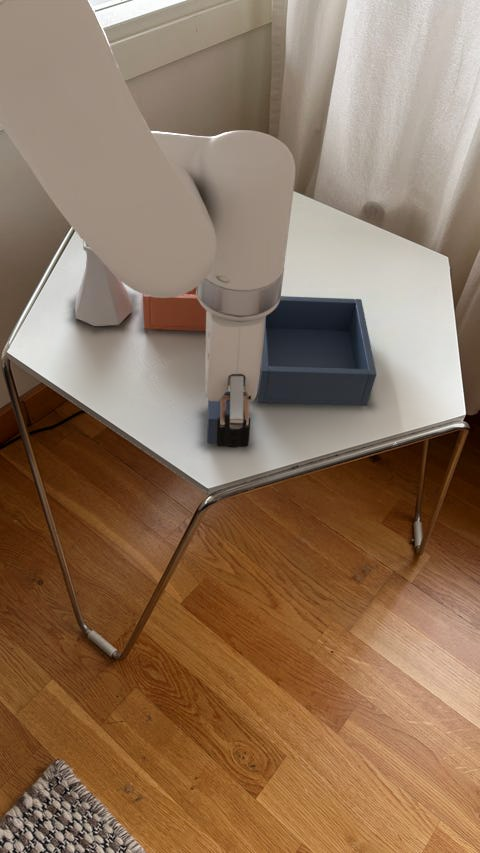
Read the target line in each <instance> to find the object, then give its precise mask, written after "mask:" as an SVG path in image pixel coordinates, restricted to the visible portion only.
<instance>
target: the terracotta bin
mask: <svg viewBox="0 0 480 853" xmlns="http://www.w3.org/2000/svg"><path fill="white" fill-rule="evenodd" d="M142 306H143V307H142V309H143V329H144V330H162V331H164V330H165V331H190V332H191V331H192V332H194V331H195V332H206V310H205V309H204V308H203V307H202V306H201V304H200V302H199V301H198V298H197V294H196V288H194V289H193V290H192V291H189V292H187V293H185V294H183V295H180V296H176V297H170V298H158V297H151V296H147V295H144V294H142Z"/></svg>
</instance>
